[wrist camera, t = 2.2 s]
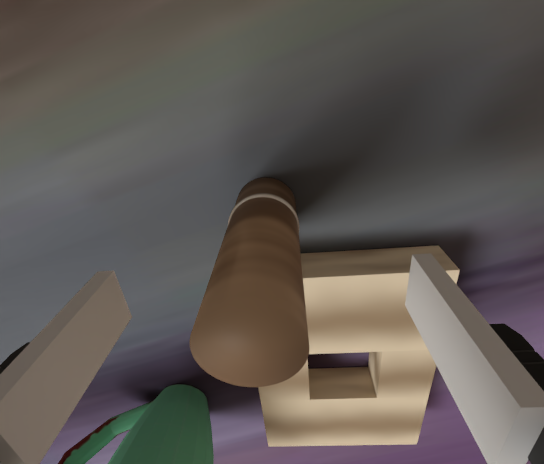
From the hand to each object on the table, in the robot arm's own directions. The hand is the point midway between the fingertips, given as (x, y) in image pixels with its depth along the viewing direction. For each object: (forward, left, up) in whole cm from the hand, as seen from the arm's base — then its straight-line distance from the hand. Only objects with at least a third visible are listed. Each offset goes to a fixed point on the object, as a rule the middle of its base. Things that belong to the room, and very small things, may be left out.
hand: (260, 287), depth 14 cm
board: (+14, +5, -8) cm, 17 cm away
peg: (0, 0, -8) cm, 8 cm away
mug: (+21, -13, -8) cm, 26 cm away
